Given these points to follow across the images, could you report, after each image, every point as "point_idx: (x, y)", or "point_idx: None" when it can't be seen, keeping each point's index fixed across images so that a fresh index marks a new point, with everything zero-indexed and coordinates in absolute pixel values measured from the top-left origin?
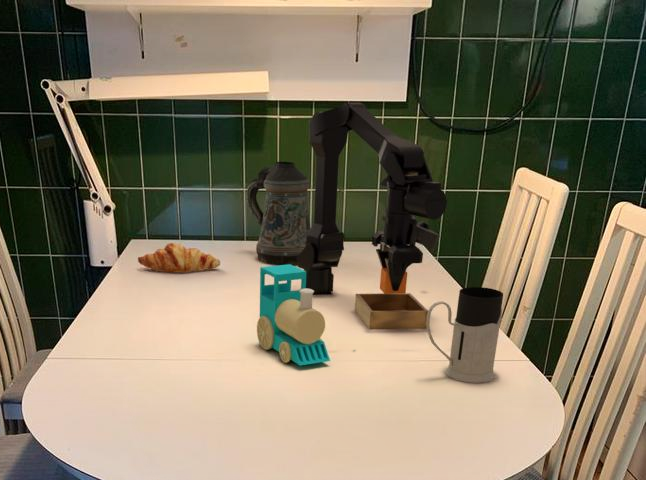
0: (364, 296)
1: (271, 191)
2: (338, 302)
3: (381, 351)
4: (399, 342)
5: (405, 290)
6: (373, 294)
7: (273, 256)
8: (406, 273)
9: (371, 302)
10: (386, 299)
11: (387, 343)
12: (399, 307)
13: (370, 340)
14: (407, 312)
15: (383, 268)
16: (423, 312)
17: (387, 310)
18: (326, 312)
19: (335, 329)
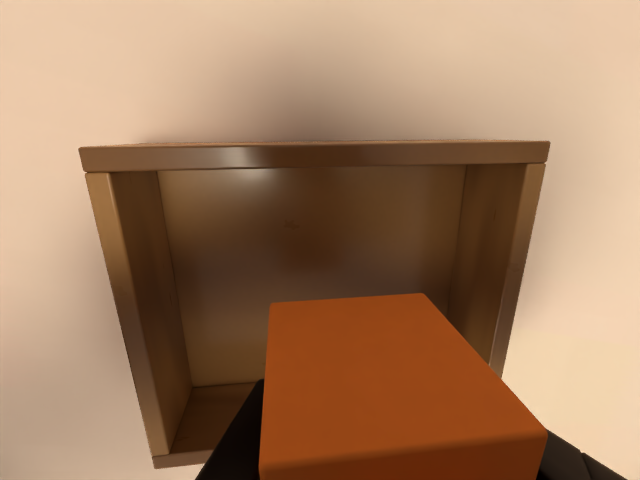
0: (167, 422)
1: None
2: (25, 436)
3: (634, 353)
4: (576, 285)
5: (434, 306)
6: (156, 390)
7: None
8: (540, 433)
9: (173, 364)
10: (152, 300)
11: (573, 325)
12: (158, 206)
13: (530, 371)
14: (522, 268)
15: None
16: (539, 175)
17: (179, 265)
18: (195, 476)
19: None
